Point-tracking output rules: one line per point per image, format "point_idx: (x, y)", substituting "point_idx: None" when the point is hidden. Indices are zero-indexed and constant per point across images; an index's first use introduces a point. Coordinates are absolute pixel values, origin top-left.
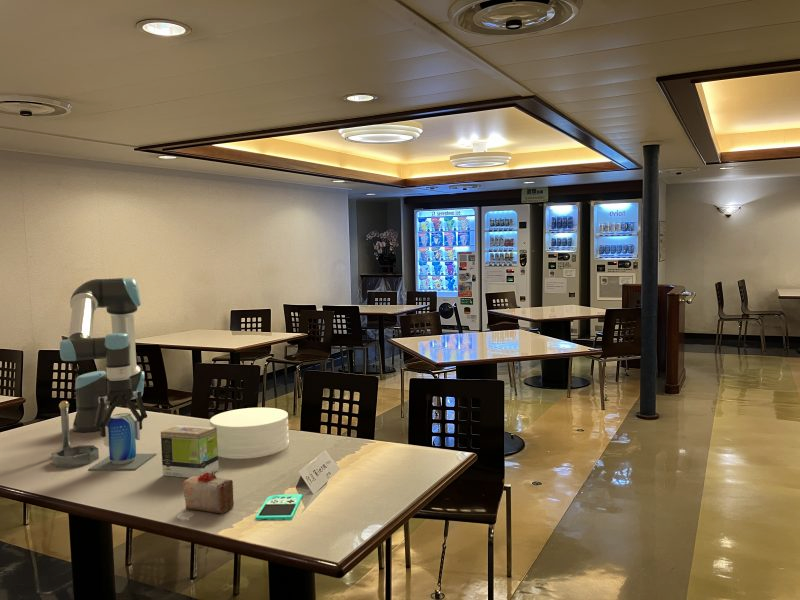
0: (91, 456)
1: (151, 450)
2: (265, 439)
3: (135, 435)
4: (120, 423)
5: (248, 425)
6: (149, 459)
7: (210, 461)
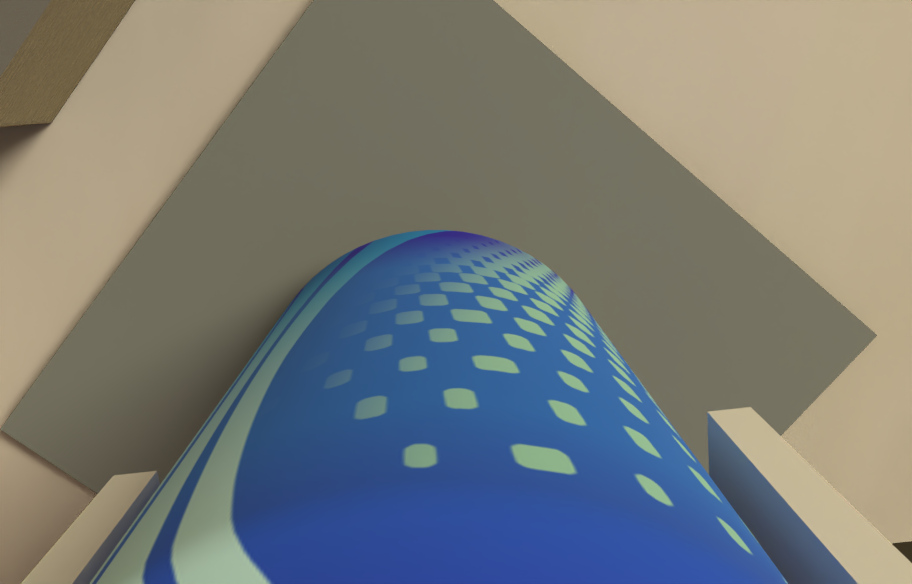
0: (27, 89)
1: (907, 59)
2: None
3: (735, 473)
4: None
5: None
6: None
7: None
